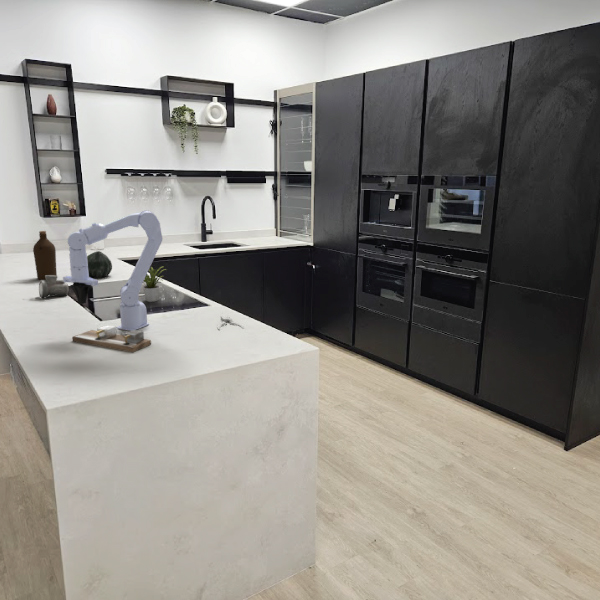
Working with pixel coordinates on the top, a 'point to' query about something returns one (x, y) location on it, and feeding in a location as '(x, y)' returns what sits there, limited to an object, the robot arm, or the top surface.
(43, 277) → the olive oil
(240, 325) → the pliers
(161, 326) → the top surface
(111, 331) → the block
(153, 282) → the house plant
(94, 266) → the squash
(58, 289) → the pipe fitting
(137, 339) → the gauge board
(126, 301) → the robot arm
